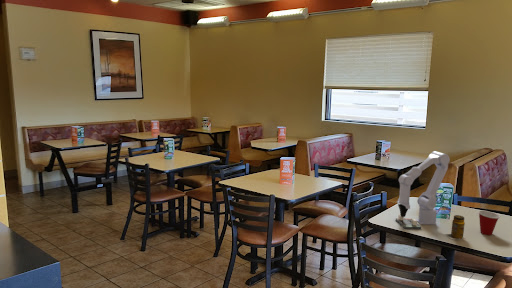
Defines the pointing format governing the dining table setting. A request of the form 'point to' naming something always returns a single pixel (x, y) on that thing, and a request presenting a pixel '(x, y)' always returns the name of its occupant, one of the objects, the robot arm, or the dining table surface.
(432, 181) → the robot arm
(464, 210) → the dining table surface
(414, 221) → the breaker
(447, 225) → the dining table surface
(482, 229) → the plastic cup
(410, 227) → the breaker panel
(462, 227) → the condiment
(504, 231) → the dining table surface
